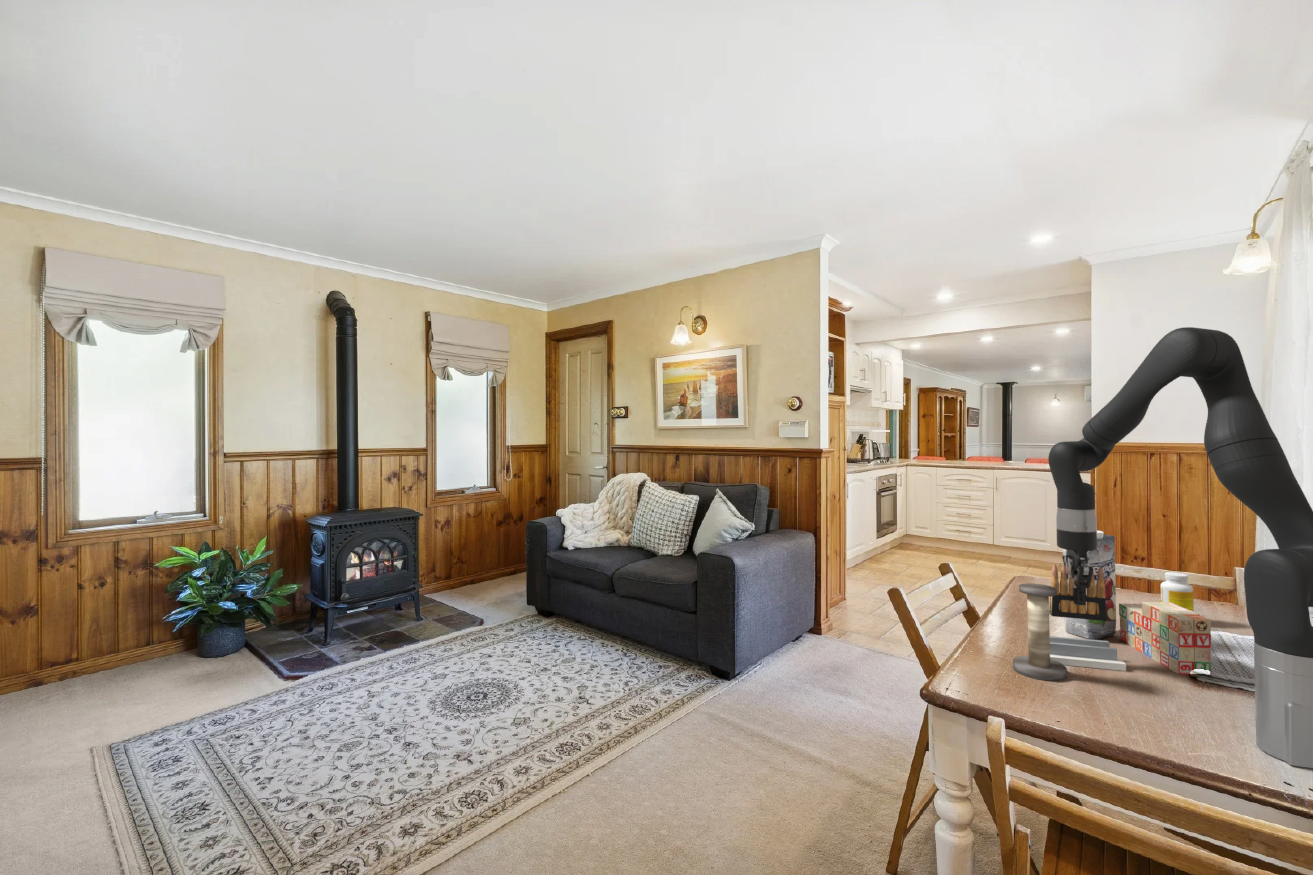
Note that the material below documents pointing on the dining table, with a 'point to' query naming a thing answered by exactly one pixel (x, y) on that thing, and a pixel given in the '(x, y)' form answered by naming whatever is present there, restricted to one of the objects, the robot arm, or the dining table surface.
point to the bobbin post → (1039, 637)
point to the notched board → (1085, 653)
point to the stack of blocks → (1168, 635)
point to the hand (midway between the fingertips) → (1077, 602)
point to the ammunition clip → (1065, 598)
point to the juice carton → (1106, 561)
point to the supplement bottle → (1177, 590)
